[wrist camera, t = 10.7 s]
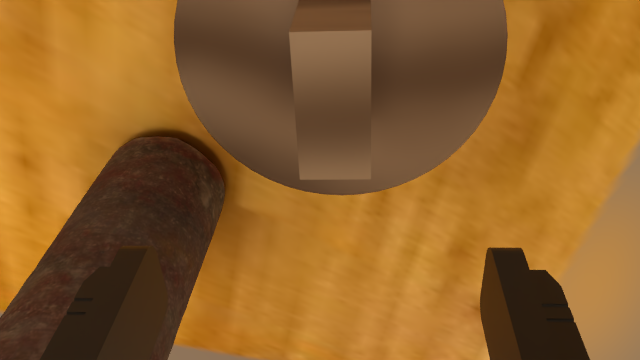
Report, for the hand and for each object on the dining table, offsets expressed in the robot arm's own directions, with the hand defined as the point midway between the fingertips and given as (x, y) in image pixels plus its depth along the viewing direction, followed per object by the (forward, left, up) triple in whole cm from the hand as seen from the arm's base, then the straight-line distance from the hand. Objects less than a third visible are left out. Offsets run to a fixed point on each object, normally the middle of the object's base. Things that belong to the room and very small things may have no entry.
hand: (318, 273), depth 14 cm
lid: (0, 0, -15) cm, 15 cm away
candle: (+10, -11, -20) cm, 25 cm away
